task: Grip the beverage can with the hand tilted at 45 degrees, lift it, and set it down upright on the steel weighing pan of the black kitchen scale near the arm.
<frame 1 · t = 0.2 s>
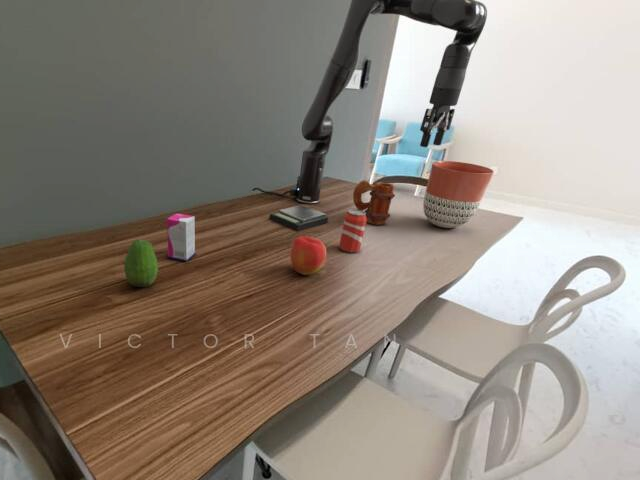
hand: (430, 145, 122), 29 cm above the table, tool pointing down, fingers open, 8 cm apart
apple: (304, 273, 107), on the table
scale: (298, 220, 143), on the table
mug: (367, 222, 146), on the table
supplement box: (181, 256, 112), on the table
planter: (442, 226, 147), on the table
avocado: (142, 285, 96), on the table
scale pan: (302, 213, 143), point 3 cm above the table, slide at 0.0 cm
beverage can: (348, 250, 123), on the table
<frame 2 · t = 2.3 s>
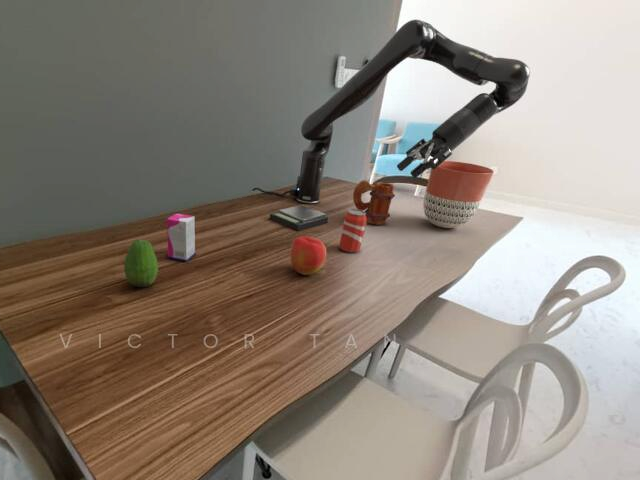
hand: (405, 172, 112), 24 cm above the table, tool tilted 45°, fingers open, 8 cm apart
nothing on the table moved.
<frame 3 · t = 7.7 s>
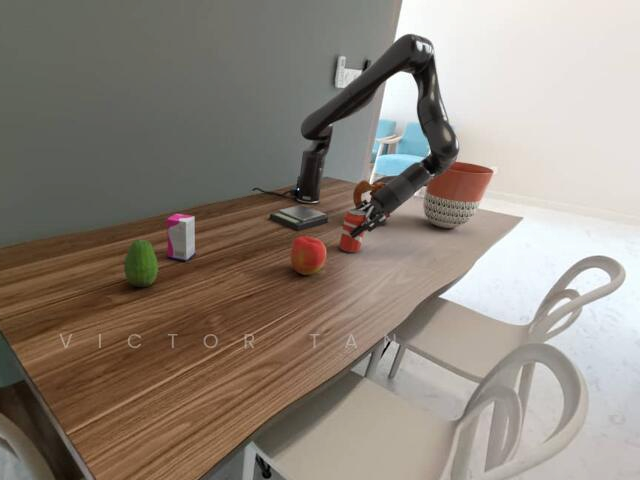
hand: (347, 231, 119), 6 cm above the table, tool tilted 45°, fingers closed on beverage can, 6 cm apart
beverage can: (348, 250, 123), on the table, touching gripper
everything else where it was.
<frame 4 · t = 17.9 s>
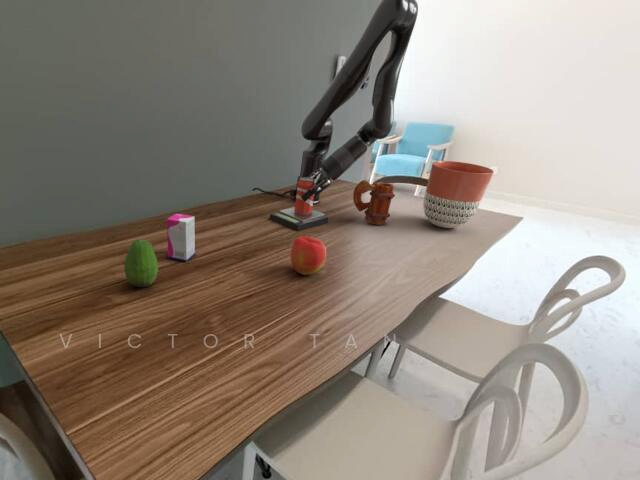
hand: (300, 196, 139), 9 cm above the table, tool tilted 45°, fingers closed on beverage can, 6 cm apart
scale pan: (302, 213, 143), point 2 cm above the table, slide at -0.2 cm, touching beverage can, scale
beverage can: (302, 213, 143), point 3 cm above the table, touching gripper, scale pan
everything else where it was.
when the fingers open (9 cm above the table, at t = 18.0 s): beverage can stays where it is, resting on scale pan.
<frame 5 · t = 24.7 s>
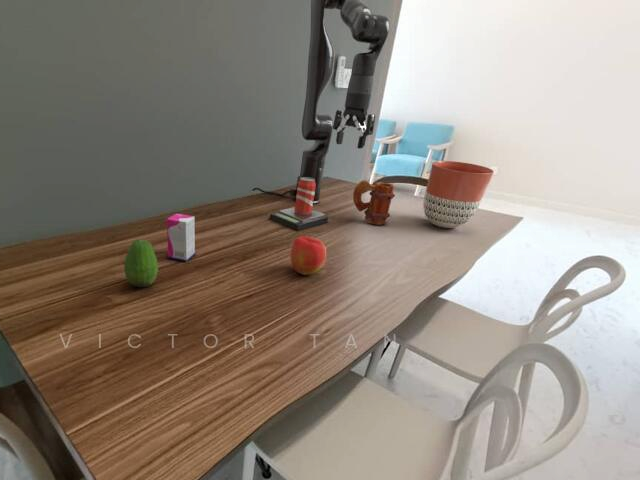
hand: (349, 146, 132), 26 cm above the table, tool pointing down, fingers open, 8 cm apart
beverage can: (302, 213, 143), point 3 cm above the table, touching scale pan
everything else where it was.
at the end: beverage can inside the target area on the scale (0.2 cm from its centre), point 2.6 cm above the scale's base; beverage can tilted 0°; the gripper is holding nothing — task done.
